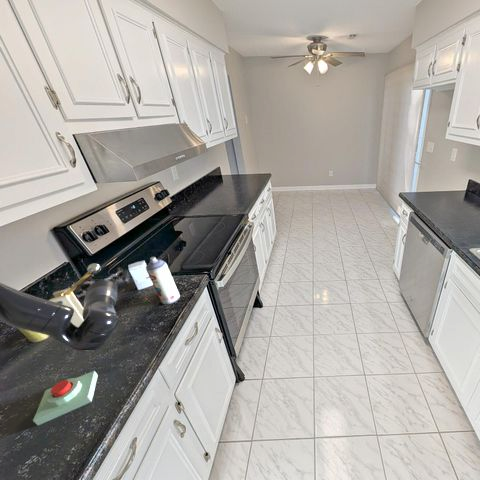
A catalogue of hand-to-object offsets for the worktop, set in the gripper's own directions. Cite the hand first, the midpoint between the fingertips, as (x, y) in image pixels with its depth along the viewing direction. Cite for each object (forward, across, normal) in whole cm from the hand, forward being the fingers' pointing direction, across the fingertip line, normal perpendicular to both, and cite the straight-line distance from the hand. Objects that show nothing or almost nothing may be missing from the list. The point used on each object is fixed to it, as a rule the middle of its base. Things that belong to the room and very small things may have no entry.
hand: (105, 274), depth 91 cm
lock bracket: (+1, +14, +18) cm, 23 cm away
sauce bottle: (+3, +25, +18) cm, 31 cm away
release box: (-31, +13, +19) cm, 39 cm away
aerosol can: (-3, -15, +18) cm, 24 cm away
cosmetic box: (+14, -7, +18) cm, 24 cm away
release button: (-31, +13, +15) cm, 37 cm away
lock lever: (0, +7, +2) cm, 7 cm away
